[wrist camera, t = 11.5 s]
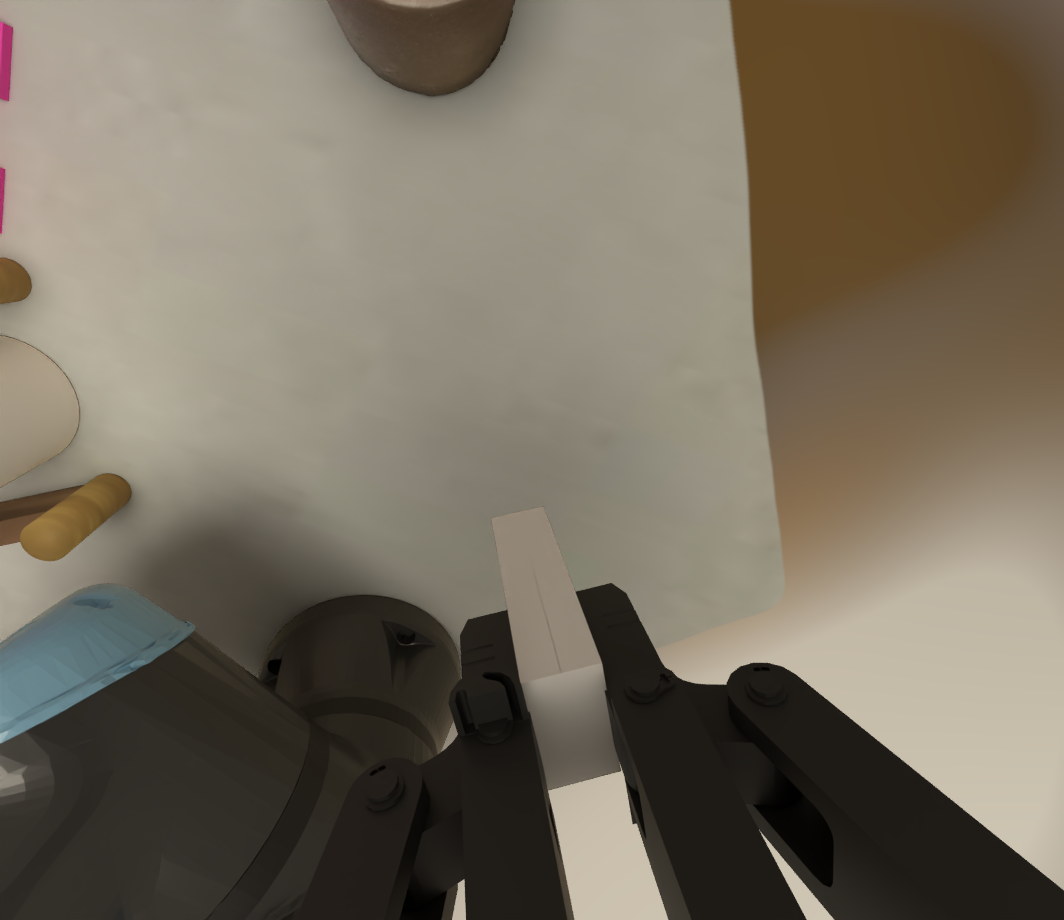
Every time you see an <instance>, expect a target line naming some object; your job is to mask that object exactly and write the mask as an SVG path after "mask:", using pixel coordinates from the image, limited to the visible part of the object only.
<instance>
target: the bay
mask: <svg viewBox="0 0 1064 920" xmlns="http://www.w3.org/2000/svg"><path fill="white" fill-rule="evenodd" d="M30 291H31V280H30V277H29V275H28V273H27V272H26V270H25V269H24V268H23V267H22V266H21V265H19V264H18V263H16V262H15V261H13V260H10V259H7V258H0V304H3V303H10V302H16V301H20V300H23V299H24V298H26V297H27V296H28V295H29V293H30ZM130 497H131V489H130V486H129V485H128V483H127V482H126V481H125V480H124V479H123V478H121V477H119V476H117V475H114V474H101V475H99V476H97V477H95V478H94V479H92V480H91V481H90V482H88V483H87V484H85V485H81V486H76V487H71V488H66V489H62V490H57V491H52V492H47V493H43V494H38V495H33V496H28V497H23V498H19V499H14V500H9V501H4V502H0V546H2V545H7V544H12V543H16V542H21V545H22V547H23V548H24V550H25V551H26V552H27V553H28V554H30V555H31V556H33V557H35V558H37V559H40V560H44V561H55V560H58V559H61V558H63V557H64V556H65V555H66V554H68V553H69V552H70V551H71V550H72V549H73V548H75V547H76V546H77V545H78V544H79V543H80V542H82V541H83V540H84V539H85V538H86V537H87V536H89V535H90V534H91V533H92V532H93V531H94V530H96V529H97V528H98V527H99V526H100V525H101V524H103V523H104V522H105V521H106V520H107V519H108V518H110V517H111V516H112V515H113V514H114V513H115V512H117V511H118V510H119V509H120V508H121V507H122V506H124V505H125V504H126V503H127V502H128V501H129V499H130Z"/></svg>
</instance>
